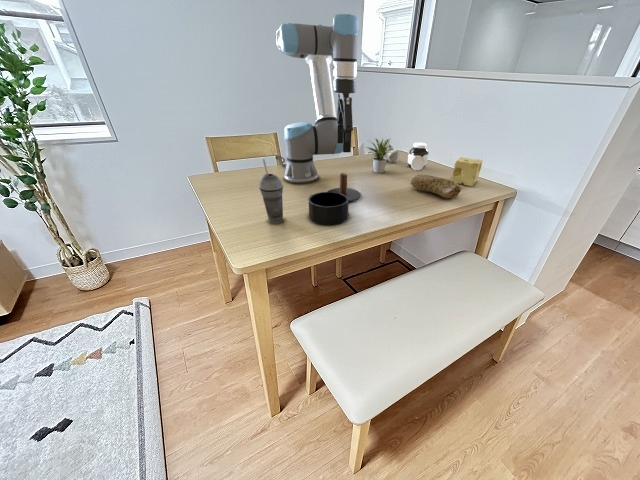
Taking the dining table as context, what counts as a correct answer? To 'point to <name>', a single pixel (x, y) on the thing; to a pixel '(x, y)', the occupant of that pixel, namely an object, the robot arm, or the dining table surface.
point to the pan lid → (346, 189)
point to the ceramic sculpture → (391, 154)
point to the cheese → (466, 171)
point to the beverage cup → (272, 196)
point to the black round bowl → (328, 208)
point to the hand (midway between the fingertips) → (343, 147)
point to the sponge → (436, 185)
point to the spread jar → (418, 156)
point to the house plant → (379, 155)
